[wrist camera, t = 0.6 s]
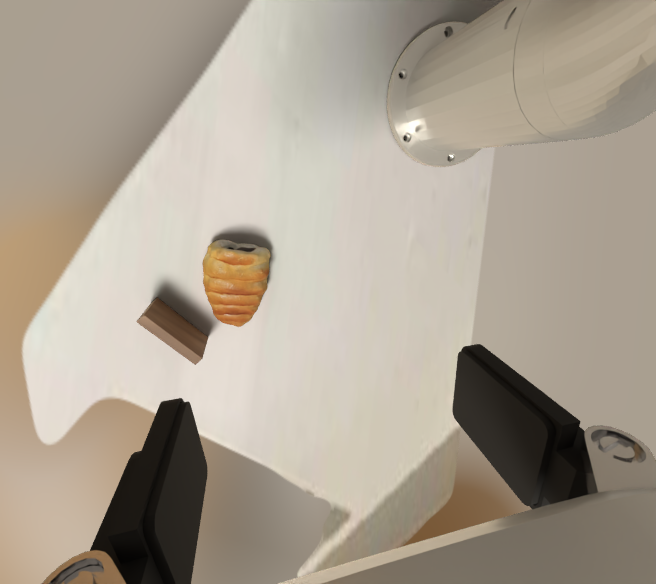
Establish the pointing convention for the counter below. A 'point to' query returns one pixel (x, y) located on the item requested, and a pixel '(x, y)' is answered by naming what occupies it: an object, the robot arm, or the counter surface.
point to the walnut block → (174, 330)
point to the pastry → (235, 280)
